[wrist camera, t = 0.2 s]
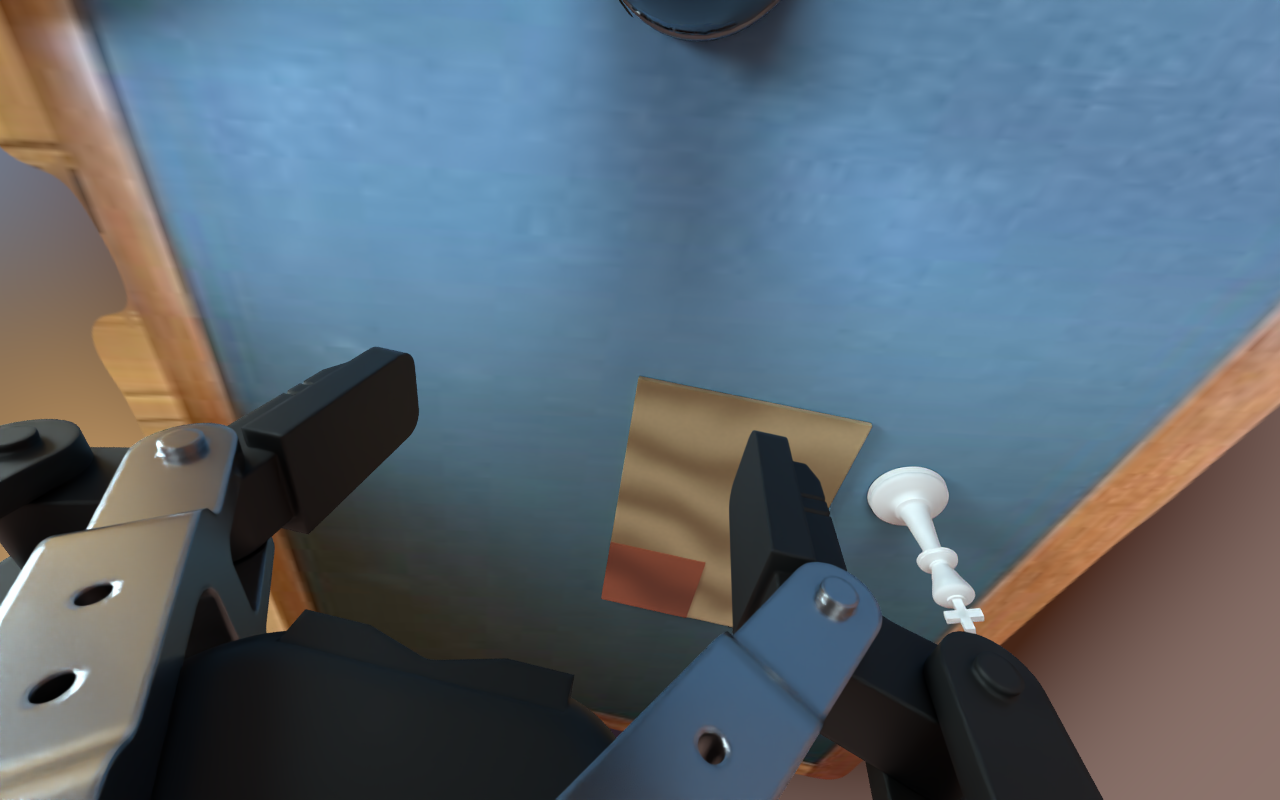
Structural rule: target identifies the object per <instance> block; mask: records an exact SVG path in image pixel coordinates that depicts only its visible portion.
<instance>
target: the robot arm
mask: <svg viewBox="0 0 1280 800" xmlns="http://www.w3.org/2000/svg"><path fill="white" fill-rule="evenodd" d="M619 1H620V2H621V4H622V5H623V6H624V8H625V9H626V11H627V12H628V13H629V14H630V12H629V11H628V9H627V8H626V7H625V5H624V4H623V2H624V3H625V4H626V5H627V6H628V7H629V8H630V9H631V10H632V11H633V13H634V14H635V15H637V16H638V17H639V18H640V19H641V20H642V21H644V22H645V23H646V24H648V25H649V26H651V27H652V28H654V29H655V30H657V31H659V32H661V33H663V34H666V35H668V36H671V37H674V38H678V39H682V40H690V41H708V40H715V39H719V38H723V37H727V36H729V35H732V34H735V33H737V32H739V31H741V30H743V29H745V28H747V27H749V26H750V25H752V24H753V23H755V22H756V21H758V20H759V19H761V18H762V17H763V16H764V15H766V14H767V13H768V12H769V11H770V10H771V9H773V8H774V7H775V6H776V5H777V4H778V3H779V2H780V1H781V0H623V2H622V1H621V0H619ZM630 15H631V14H630ZM631 16H632V15H631ZM632 17H633V16H632ZM418 416H419V406H418V395H417V384H416V374H415V364H414V360H413V358H412V356H411V355H410V354H408V353H403V352H399V351H394V350H390V349H385V348H380V347H373V348H370V349H369V350H367V351H365V352H364V353H362V354H360V355H359V356H357V357H356V358H354V359H352V360H351V361H349V362H346V363H343V364H340V365H337V366H334V367H330V368H327V369H324V370H322V371H320V372H318V373H317V374H315V375H313V376H312V377H310V378H308V379H307V380H305V381H304V383H303V384H298V385H296V386H295V387H293V388H291V389H289V390H288V392H287V394H286V393H283V394H281V395H279V396H278V397H276V398H274V399H272V400H271V401H269V402H267V403H266V404H264V405H262V406H261V407H259V408H257V409H255V410H254V411H252V412H250V413H249V414H247V415H245V416H244V417H242V418H240V419H238V420H237V421H235V422H233V423H232V424H230V425H228V426H225V425H221V424H214V423H197V424H188V425H182V426H177V427H173V428H169V429H165V430H162V431H160V432H157V433H154V434H152V435H150V436H147V437H146V438H144V439H142V440H140V441H139V442H137V443H136V444H134V445H133V446H132V447H131V448H120V447H118V448H117V447H116V448H115V447H109V448H108V447H90V446H89V445H88V443H87V441H86V439H85V437H84V435H83V434H82V432H81V430H80V428H79V427H78V426H77V425H76V424H74V423H72V422H69V421H65V420H58V419H38V420H27V421H21V422H14V423H10V424H5V425H1V426H0V543H1V544H2V546H3V547H4V548H5V550H6V551H7V552H8V554H9V555H10V557H8V558H6V559H5V560H3V561H2V562H0V800H779V798H780V796H781V795H782V793H783V791H784V790H785V788H786V786H787V785H788V783H789V782H790V780H791V778H792V777H793V775H794V774H795V772H796V770H797V769H798V767H799V765H800V764H801V762H802V760H803V759H804V757H805V756H806V754H807V752H808V751H809V749H810V747H811V746H812V744H813V742H814V741H815V739H816V738H817V736H818V734H819V733H820V734H821V735H823V736H825V737H826V738H828V739H830V740H831V741H833V742H835V743H836V744H838V745H840V746H841V747H843V748H845V749H846V750H848V751H849V752H851V753H853V754H854V755H856V756H858V757H859V758H861V759H863V760H864V761H866V767H867V772H868V777H869V783H870V788H871V793H872V798H873V800H1103V798H1102V796H1101V794H1100V792H1099V791H1098V789H1097V787H1096V785H1095V783H1094V781H1093V779H1092V778H1091V776H1090V774H1089V772H1088V770H1087V768H1086V767H1085V765H1084V763H1083V761H1082V759H1081V757H1080V756H1079V754H1078V752H1077V750H1076V748H1075V746H1074V744H1073V743H1072V741H1071V739H1070V737H1069V735H1068V733H1067V732H1066V730H1065V728H1064V726H1063V724H1062V722H1061V720H1060V718H1059V717H1058V715H1057V713H1056V711H1055V709H1054V707H1053V706H1052V704H1051V702H1050V700H1049V698H1048V696H1047V694H1046V693H1045V691H1044V689H1043V688H1042V686H1041V685H1040V683H1039V682H1038V681H1037V679H1036V678H1035V676H1034V675H1033V674H1032V673H1031V672H1030V671H1029V670H1028V669H1027V667H1026V666H1024V664H1022V663H1021V662H1020V661H1019V660H1018V659H1017V658H1016V657H1014V656H1013V655H1012V654H1011V653H1010V652H1008V651H1007V650H1005V649H1004V648H1003V647H1001V646H1000V645H998V644H996V643H994V642H993V641H991V640H989V639H987V638H985V637H982V636H980V635H977V634H974V633H969V632H961V631H958V632H952V633H950V634H948V635H947V636H946V637H944V638H943V640H942V641H941V642H940V643H939V644H938V645H937V644H935V643H933V642H931V641H929V640H927V639H925V638H923V637H921V636H919V635H917V634H915V633H913V632H911V631H909V630H907V629H905V628H903V627H901V626H899V625H897V624H895V623H893V622H891V621H890V620H888V619H886V618H885V617H884V616H882V613H881V610H880V606H879V604H878V602H877V600H876V599H875V597H874V596H873V594H872V593H871V592H870V590H869V589H868V588H867V587H866V586H865V585H864V584H863V583H862V582H861V581H860V580H859V579H857V578H856V577H855V576H853V575H852V574H850V573H849V572H847V569H846V565H845V562H844V559H843V555H842V552H841V549H840V545H839V542H838V539H837V536H836V532H835V529H834V526H833V522H832V519H831V517H829V515H830V512H829V509H828V506H827V502H825V496H824V492H823V489H822V486H821V482H820V480H819V479H818V478H817V477H816V475H815V474H814V473H813V472H812V471H811V469H810V468H809V467H808V466H807V464H804V463H799V462H795V461H793V459H792V455H791V450H790V446H789V442H788V439H787V437H784V436H779V435H775V434H770V433H765V432H761V431H756V430H753V431H752V432H751V434H750V436H749V439H748V441H747V444H746V447H745V450H744V453H743V456H742V459H741V462H740V464H739V467H738V470H737V473H736V476H735V479H734V482H733V485H732V489H731V494H730V500H729V529H730V559H731V590H732V620H733V635H731V634H730V633H729V632H724V633H723V634H721V635H720V636H719V637H717V638H716V639H715V640H714V641H713V642H712V643H711V644H710V645H709V646H708V647H707V648H706V649H705V650H704V651H703V652H702V653H701V654H700V655H699V656H698V657H697V658H696V659H695V660H694V661H693V662H692V663H691V664H690V665H689V666H688V667H687V668H686V669H685V670H684V671H683V672H682V673H681V674H680V675H679V676H678V677H677V678H676V679H675V680H674V681H673V682H672V683H671V684H670V685H669V686H668V687H667V688H666V689H665V690H664V691H663V692H662V693H661V694H660V695H659V696H658V697H657V698H656V699H655V700H654V701H653V702H652V703H651V704H650V705H649V706H648V707H647V708H646V709H645V710H644V711H643V712H642V713H641V714H640V715H639V716H638V717H637V718H636V719H635V720H634V721H633V722H632V723H631V724H630V725H629V726H628V727H627V728H626V729H625V730H624V731H623V732H622V733H621V734H620V735H619V736H618V737H617V738H616V737H615V736H614V734H613V733H612V732H611V730H610V729H609V728H608V727H607V726H606V725H605V724H604V723H603V722H602V721H601V720H600V719H599V718H598V717H597V716H596V715H595V714H594V713H593V712H591V711H590V710H589V709H588V708H586V707H585V706H584V705H582V704H581V703H579V702H577V701H576V700H574V699H572V698H571V692H572V686H573V680H574V675H572V674H568V673H564V672H560V671H555V670H551V669H547V668H543V667H539V666H535V665H531V664H527V663H523V662H519V661H515V660H511V659H467V660H430V659H426V658H424V657H422V656H420V655H418V654H417V653H415V652H413V651H412V650H410V649H409V648H407V647H405V646H404V645H402V644H400V643H399V642H397V641H395V640H394V639H392V638H391V637H389V636H387V635H386V634H384V633H382V632H381V631H379V630H377V629H376V628H374V627H372V626H371V625H368V624H363V623H359V622H355V621H351V620H347V619H343V618H339V617H335V616H331V615H327V614H323V613H318V612H314V611H310V610H306V609H305V611H304V612H303V613H302V614H301V615H300V616H299V617H298V619H297V620H296V621H295V622H294V623H293V624H292V625H291V627H290V628H289V629H288V630H287V631H281V632H273V633H266V622H267V613H268V604H269V595H270V586H271V577H272V568H273V559H274V550H275V547H274V542H273V539H272V536H273V535H274V534H275V533H276V532H277V531H278V530H279V529H281V528H284V529H288V530H292V531H297V532H301V533H305V534H309V533H310V532H311V531H312V530H313V529H314V528H315V527H316V526H317V525H318V524H319V523H320V522H321V521H323V520H324V519H325V518H326V517H327V516H328V515H329V514H330V513H331V512H332V511H333V510H334V509H335V508H336V507H337V506H338V505H339V504H340V503H341V502H342V501H343V500H344V499H345V498H346V497H347V496H348V495H349V494H350V493H351V492H352V491H353V490H355V489H356V488H357V487H358V486H359V485H360V484H361V483H362V482H363V481H364V480H365V479H366V478H367V477H368V476H369V475H370V474H371V473H372V472H373V471H374V470H375V469H376V468H377V467H378V466H379V465H380V464H381V463H382V462H383V461H384V460H385V459H386V458H388V457H389V456H390V455H391V454H392V453H393V452H394V451H395V450H396V449H397V448H398V447H399V446H400V445H401V444H402V443H403V442H404V441H405V440H406V439H407V438H408V437H409V436H410V435H411V434H412V432H413V431H414V429H415V427H416V424H417V421H418Z"/></svg>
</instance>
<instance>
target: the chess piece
mask: <svg viewBox="0 0 1280 800" xmlns="http://www.w3.org/2000/svg"><path fill="white" fill-rule="evenodd" d="M867 499H868V503H869V505H870V507H871V508H872V510H873V512H874V513H875V515H876V516H877V517H879V518H880V519H881V520H883V521H885V522H887V523H890V524H894V525H904V526H906V525H907V526H908V528H909V529H910V531H911V532H912V534H913V535H914V537H915V539H916V540H917V542H918V543H919V545H920V547H921V549H922V550H923V552H922V553H921V554H920V555H919V556H918V558H917V564H918V566H919V567H920V568H921V569H922V570H923V571H925V572H927V573H930V574H932V582H933V587H932V594H933V599H934V601H935V602H936V603H937V604H939V605H940V606H943V607H946V608H954V609H955V610H954V611H944V617H945V619H946V622H947V624H952V623H961V624H962V626H963V628H964V631H965V632H969V633H974V634H976V629H975V626H974V624H973V622H978V621H984V615H983V613H982V611H981V609H980V608H977V609H966V608H965V606H966V605H968V604H970V603H971V602H972V601H973V600H974V598H975V592H974V590H973V588H972V587H971V586H970V585H969V584H968V583H967V582H966V581H965V580H963V579H962V578H961V577H960V576H959V574H958V573H957V572H956V571H955V570H954V568H955V567H956V566H957V564H958V557H957V554H956V553H955V552H954V551H953V550H951V549H948V548H944V547H941V545H940V543H939V540H938V537H937V534H936V531H935V528H934V524H933V521H932V518H934V517H936V516H937V515H938V514H940V513H941V512H942V511H943V509H944V508H945V507H946V505H947V502H948V499H949V493H948V489H947V487H946V483H945V481H944V479H943V478H942V477H941V476H940V475H939V474H937V473H936V472H934V471H932V470H930V469H927V468H923V467H902V468H898V469H894V470H891V471H889V472H887V473H885V474H883V475H881V476H880V477H879V478H877V479H876V480H875V481H874V482H873V484H872V485H871V486H870V488H869V491H868V495H867Z"/></svg>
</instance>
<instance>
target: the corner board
mask: <svg viewBox="0 0 1280 800" xmlns="http://www.w3.org/2000/svg"><path fill="white" fill-rule="evenodd" d="M871 428H872V425H871V423H869V422H864V421H859V420H854V419H849V418H844V417H839V416H834V415H829V414H824V413H819V412H814V411H809V410H804V409H800V408H795V407H790V406H785V405H780V404H775V403H770V402H765V401H760V400H755V399H750V398H745V397H740V396H735V395H730V394H726V393H721V392H716V391H711V390H706V389H701V388H696V387H691V386H686V385H681V384H676V383H671V382H666V381H661V380H657V379H652V378H647V377H642V376H639V379H638V384H637V390H636V396H635V402H634V408H633V414H632V420H631V426H630V432H629V438H628V443H627V449H626V455H625V461H624V467H623V473H622V479H621V485H620V491H619V497H618V503H617V509H616V515H615V521H614V527H613V533H612V538H611V544H610V550H609V556H608V562H607V568H606V573H605V579H604V585H603V591H602V597H601V599H604V600H609V601H613V602H618V603H622V604H626V605H631V606H635V607H640V608H644V609H649V610H653V611H658V612H662V613H667V614H671V615H676V616H680V617H684V618H686V617H690V618H694V619H699V620H703V621H708V622H712V623H717V624H721V625H726V626H730V627H733V620H732V590H731V559H730V529H729V500H730V494H731V489H732V485H733V482H734V479H735V476H736V473H737V470H738V467H739V464H740V462H741V459H742V456H743V453H744V450H745V447H746V444H747V441H748V439H749V436H750V434H751V432H752V431H753V430H756V431H761V432H765V433H770V434H775V435H779V436H784V437H787V439H788V442H789V446H790V450H791V455H792V459H793V461H795V462H799V463H804V464H807V466H808V467H809V468H810V469H811V471H812V472H813V473H814V474H815V475H816V477H817V478H818V479H819V480H820V482H821V486H822V489H823V492H824V496H825V502H827V506H828V508H829V507H830V505H831V503H832V501H833V499H834V497H835V495H836V493H837V492H838V490H839V488H840V486H841V484H842V482H843V480H844V478H845V477H846V475H847V473H848V471H849V469H850V467H851V465H852V463H853V462H854V460H855V458H856V456H857V454H858V452H859V450H860V448H861V447H862V445H863V443H864V441H865V439H866V437H867V435H868V434H869V432H870V430H871Z"/></svg>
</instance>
